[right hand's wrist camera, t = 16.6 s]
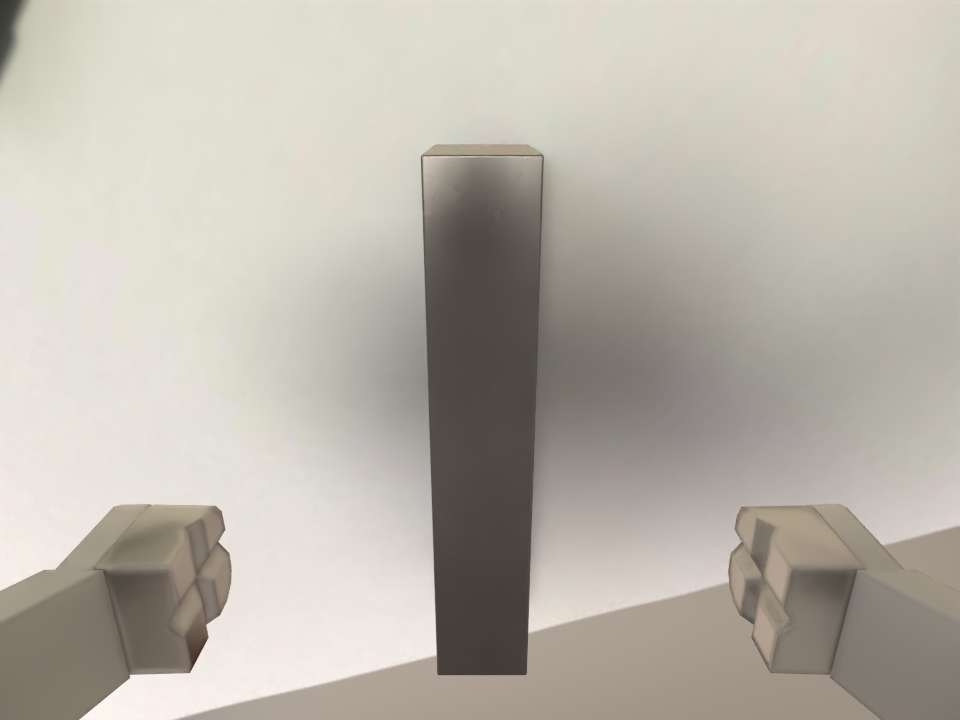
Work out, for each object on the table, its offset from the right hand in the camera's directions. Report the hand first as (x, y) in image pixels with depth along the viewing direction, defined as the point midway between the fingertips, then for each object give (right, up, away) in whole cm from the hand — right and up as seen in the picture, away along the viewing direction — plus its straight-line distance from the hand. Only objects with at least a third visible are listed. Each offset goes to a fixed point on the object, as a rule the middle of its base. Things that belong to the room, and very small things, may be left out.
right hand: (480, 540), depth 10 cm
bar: (0, +1, +27) cm, 27 cm away
